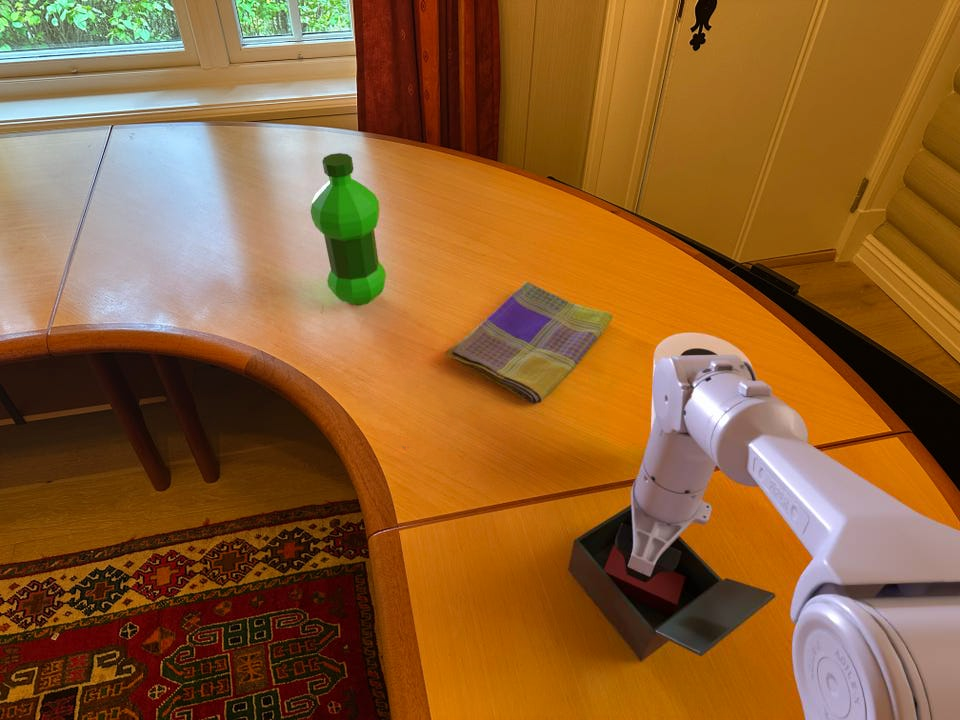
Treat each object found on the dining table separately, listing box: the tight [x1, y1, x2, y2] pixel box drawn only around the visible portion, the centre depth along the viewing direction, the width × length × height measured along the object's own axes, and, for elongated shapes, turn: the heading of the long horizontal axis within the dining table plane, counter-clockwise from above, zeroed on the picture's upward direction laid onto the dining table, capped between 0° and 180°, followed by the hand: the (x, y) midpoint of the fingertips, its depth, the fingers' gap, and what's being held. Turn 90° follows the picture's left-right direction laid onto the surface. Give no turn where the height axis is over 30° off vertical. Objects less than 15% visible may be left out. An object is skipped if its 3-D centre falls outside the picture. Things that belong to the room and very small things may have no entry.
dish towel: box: [444, 281, 613, 405], centre depth 96 cm, size 18×24×3 cm
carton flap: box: [656, 577, 777, 657], centre depth 55 cm, size 6×10×1 cm
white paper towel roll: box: [650, 332, 754, 431], centre depth 73 cm, size 11×11×18 cm
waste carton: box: [567, 504, 724, 662], centre depth 64 cm, size 12×10×6 cm
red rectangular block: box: [603, 545, 685, 617], centre depth 65 cm, size 8×4×3 cm, turn 62°
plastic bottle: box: [310, 152, 387, 307], centre depth 97 cm, size 10×10×25 cm
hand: (646, 548), depth 61 cm, fingers open, 6 cm apart
